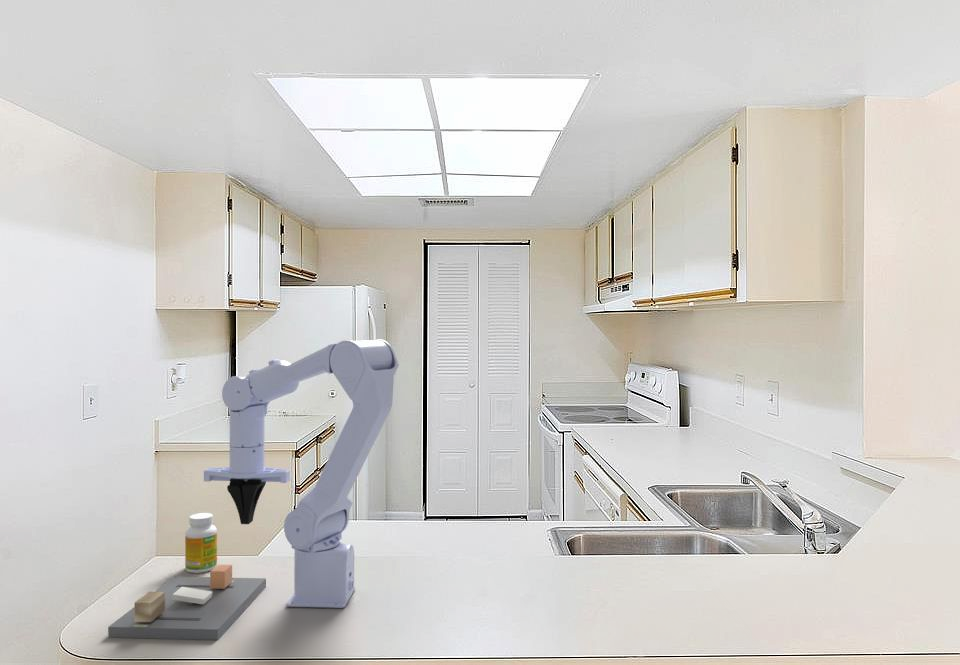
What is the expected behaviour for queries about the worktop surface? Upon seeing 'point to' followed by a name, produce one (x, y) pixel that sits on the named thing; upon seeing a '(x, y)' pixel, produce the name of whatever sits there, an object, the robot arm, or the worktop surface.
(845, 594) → the worktop surface
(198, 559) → the supplement bottle
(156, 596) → the tan cardboard carton
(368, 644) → the worktop surface
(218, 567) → the peach slider
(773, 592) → the worktop surface
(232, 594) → the switch panel
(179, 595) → the off-white rocker
